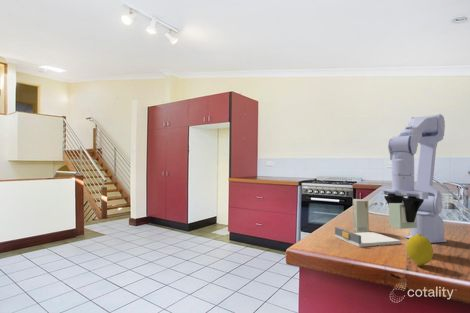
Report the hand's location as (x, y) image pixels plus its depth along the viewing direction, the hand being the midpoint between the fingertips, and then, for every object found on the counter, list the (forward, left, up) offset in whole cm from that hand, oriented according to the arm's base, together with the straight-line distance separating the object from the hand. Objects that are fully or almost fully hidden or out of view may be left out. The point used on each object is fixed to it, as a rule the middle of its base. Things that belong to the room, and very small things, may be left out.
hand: (403, 220), depth 81 cm
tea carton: (0, 0, -2) cm, 2 cm away
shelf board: (+3, -12, -9) cm, 15 cm away
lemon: (+7, +11, -9) cm, 16 cm away
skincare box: (-4, -23, -9) cm, 25 cm away
